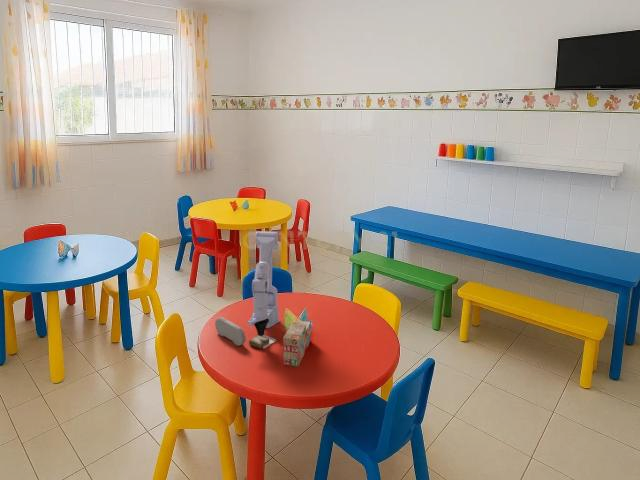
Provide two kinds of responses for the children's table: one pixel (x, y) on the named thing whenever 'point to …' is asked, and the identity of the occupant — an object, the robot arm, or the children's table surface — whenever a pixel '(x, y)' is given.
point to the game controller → (230, 331)
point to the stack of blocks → (296, 343)
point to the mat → (269, 341)
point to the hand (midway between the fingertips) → (260, 335)
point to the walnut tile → (259, 341)
